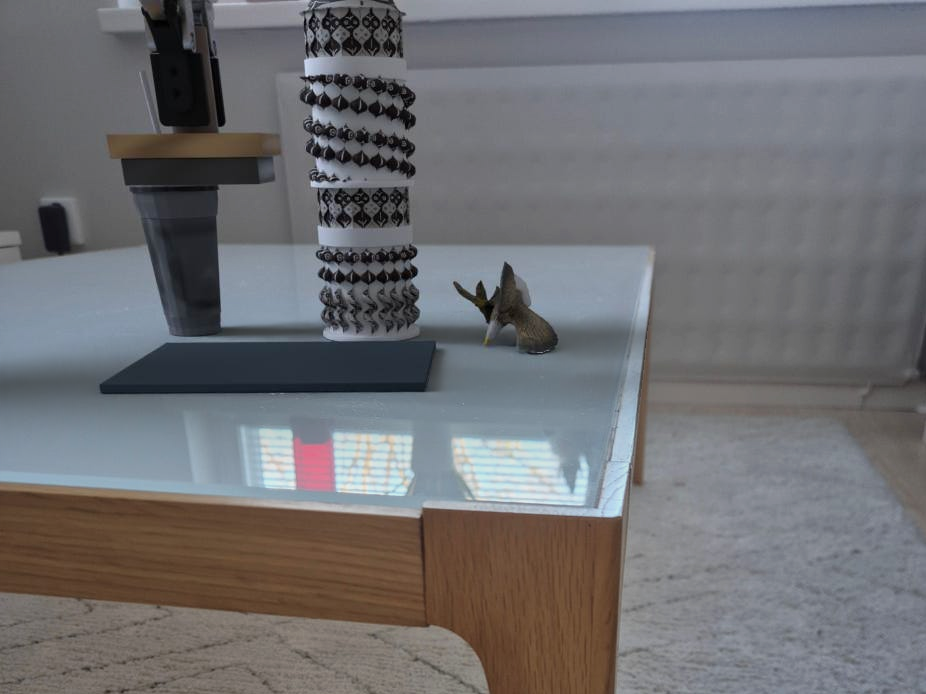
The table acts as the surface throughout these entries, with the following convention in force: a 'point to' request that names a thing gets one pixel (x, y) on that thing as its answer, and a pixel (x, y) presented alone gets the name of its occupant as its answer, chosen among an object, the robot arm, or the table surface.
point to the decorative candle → (361, 167)
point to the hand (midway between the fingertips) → (193, 123)
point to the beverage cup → (182, 247)
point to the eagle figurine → (512, 312)
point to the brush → (196, 149)
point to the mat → (278, 367)
